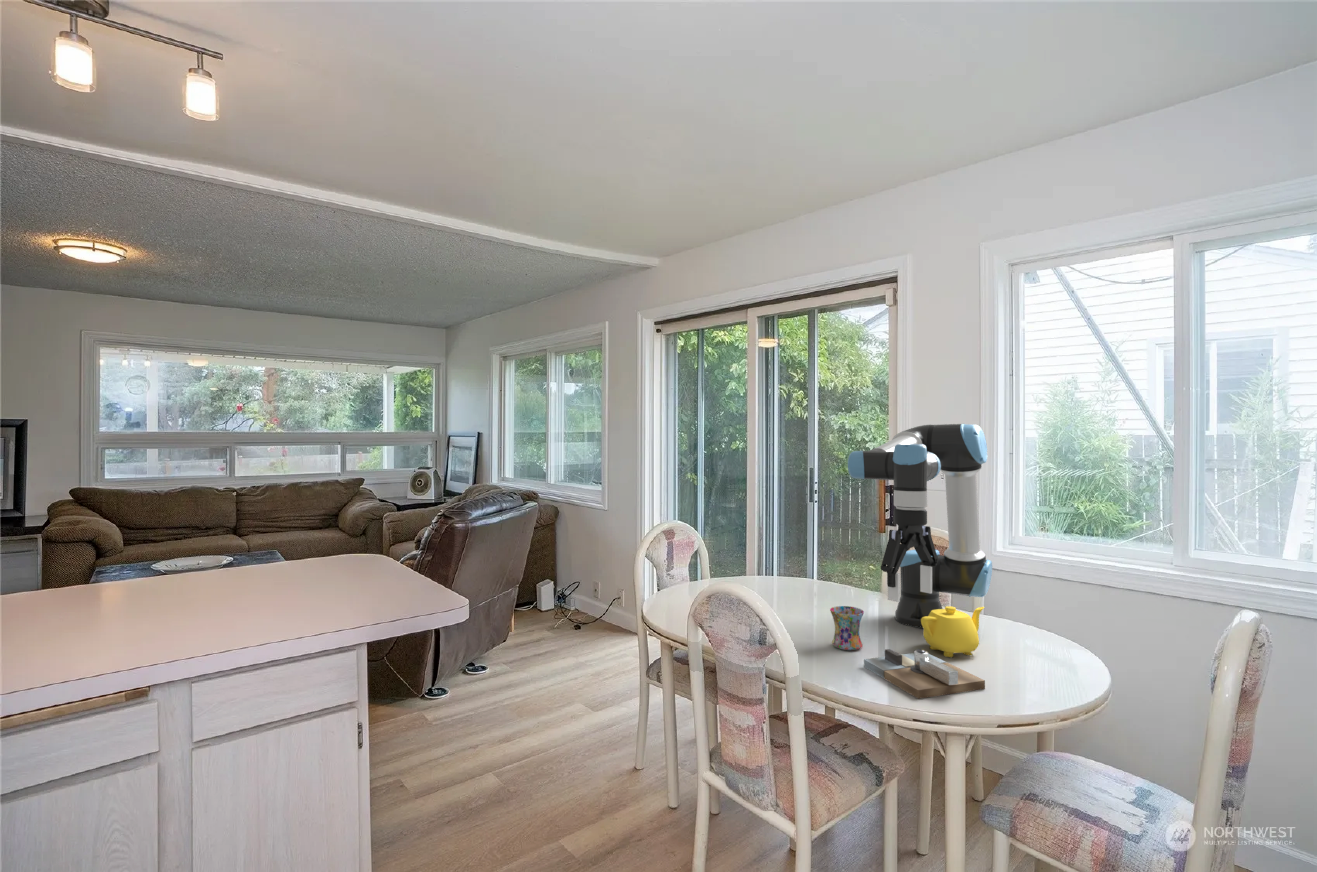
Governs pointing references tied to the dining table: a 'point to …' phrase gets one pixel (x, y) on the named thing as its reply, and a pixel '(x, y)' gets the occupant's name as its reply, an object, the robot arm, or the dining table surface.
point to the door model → (919, 676)
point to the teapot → (952, 630)
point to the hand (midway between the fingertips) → (910, 596)
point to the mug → (847, 627)
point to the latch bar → (934, 668)
